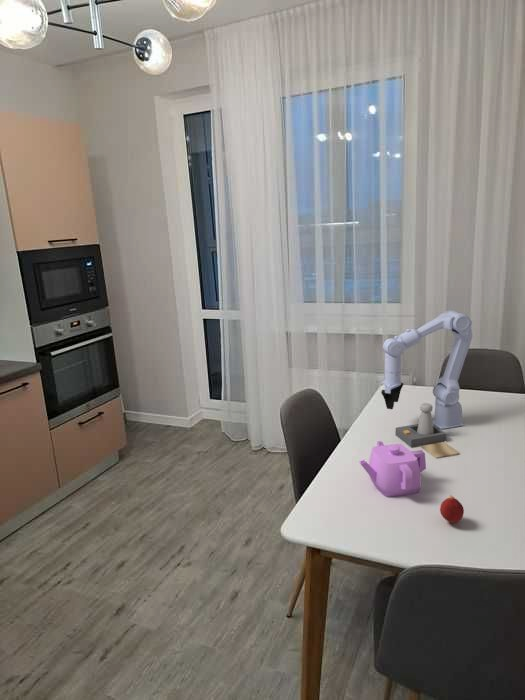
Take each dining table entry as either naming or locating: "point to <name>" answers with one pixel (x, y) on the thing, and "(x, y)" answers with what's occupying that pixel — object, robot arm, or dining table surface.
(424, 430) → the salt shaker
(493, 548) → the dining table surface
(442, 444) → the oak pad
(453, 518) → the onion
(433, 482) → the dining table surface
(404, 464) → the teakettle
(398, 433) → the grey flat block
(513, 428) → the dining table surface
